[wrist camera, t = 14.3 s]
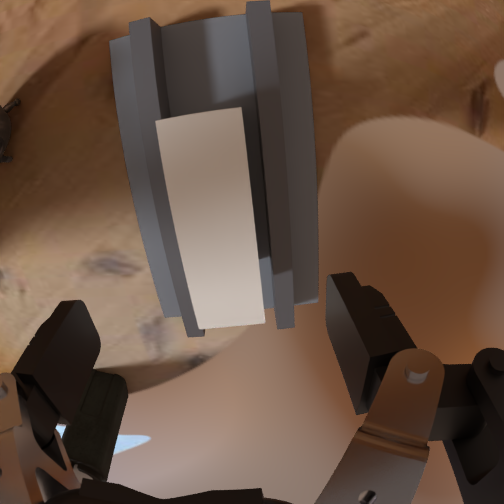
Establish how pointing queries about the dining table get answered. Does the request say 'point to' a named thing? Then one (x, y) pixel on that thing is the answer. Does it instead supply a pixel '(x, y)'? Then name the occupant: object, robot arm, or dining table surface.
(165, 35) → the door track
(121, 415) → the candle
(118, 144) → the dining table surface
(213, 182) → the white rectangular block
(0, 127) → the alarm clock
